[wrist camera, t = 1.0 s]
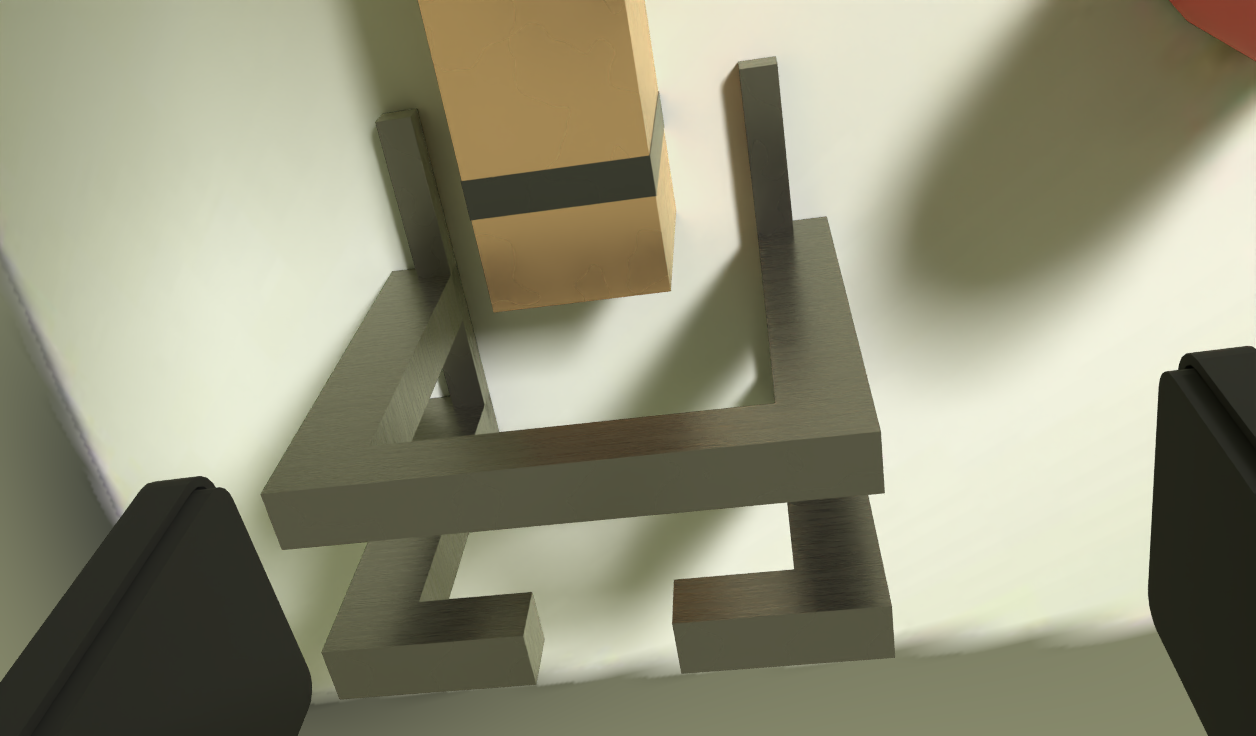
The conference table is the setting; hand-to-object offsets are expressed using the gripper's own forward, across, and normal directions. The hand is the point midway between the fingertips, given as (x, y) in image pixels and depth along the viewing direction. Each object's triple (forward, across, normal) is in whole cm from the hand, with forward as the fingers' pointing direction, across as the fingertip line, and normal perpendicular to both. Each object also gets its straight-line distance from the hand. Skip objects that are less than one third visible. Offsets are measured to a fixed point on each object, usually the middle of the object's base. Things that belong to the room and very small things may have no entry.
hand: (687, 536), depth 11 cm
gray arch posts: (+21, +4, +6) cm, 23 cm away
